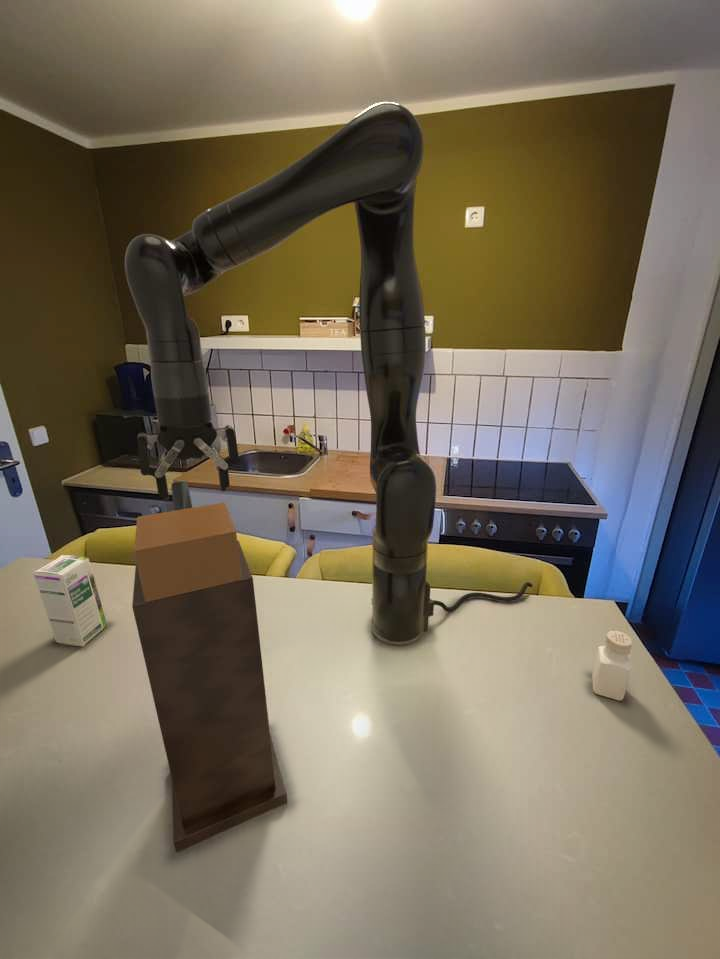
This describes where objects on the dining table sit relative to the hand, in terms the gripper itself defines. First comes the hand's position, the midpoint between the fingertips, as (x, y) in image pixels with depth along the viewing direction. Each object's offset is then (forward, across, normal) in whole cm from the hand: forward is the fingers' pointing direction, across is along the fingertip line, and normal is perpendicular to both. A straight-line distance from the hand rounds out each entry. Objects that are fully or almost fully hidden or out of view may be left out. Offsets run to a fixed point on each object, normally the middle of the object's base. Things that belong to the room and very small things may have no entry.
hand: (195, 493), depth 68 cm
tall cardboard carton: (-4, -2, -22) cm, 22 cm away
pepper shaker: (+26, +52, -39) cm, 70 cm away
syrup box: (+27, -22, +8) cm, 35 cm away
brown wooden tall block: (+26, -2, -30) cm, 40 cm away
